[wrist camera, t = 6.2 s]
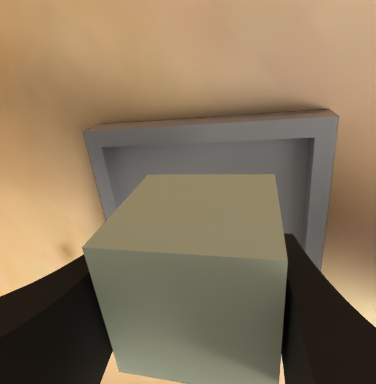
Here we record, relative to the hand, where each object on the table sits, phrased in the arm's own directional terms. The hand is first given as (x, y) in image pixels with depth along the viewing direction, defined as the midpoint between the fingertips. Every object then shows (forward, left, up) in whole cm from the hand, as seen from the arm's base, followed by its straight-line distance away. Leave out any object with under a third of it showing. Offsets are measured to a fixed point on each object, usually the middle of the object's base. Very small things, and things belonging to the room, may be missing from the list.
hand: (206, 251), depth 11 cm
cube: (0, 0, -2) cm, 2 cm away
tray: (+1, +3, -8) cm, 9 cm away
